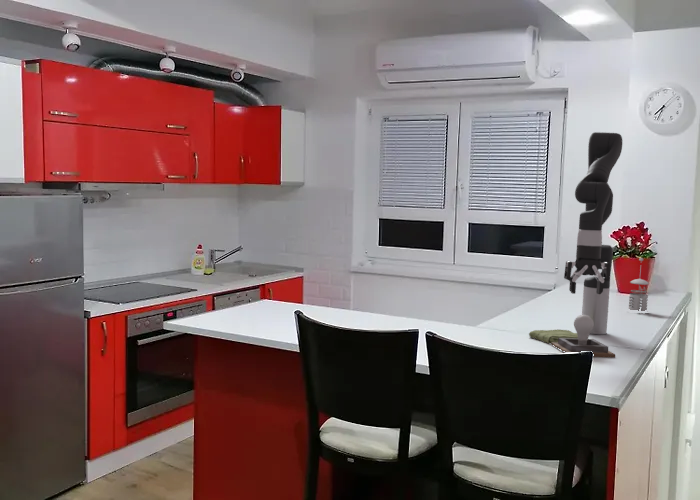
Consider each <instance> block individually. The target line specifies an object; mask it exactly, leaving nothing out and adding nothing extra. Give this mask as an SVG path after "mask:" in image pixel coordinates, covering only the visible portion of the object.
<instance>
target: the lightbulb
mask: <svg viewBox="0 0 700 500" xmlns="http://www.w3.org/2000/svg"><path fill="white" fill-rule="evenodd" d="M573 326H574V329H575V331H576V333H577V335H578V345H586V344H587V340H588V339H589V336H590V335H591V334H590V332H591V330H592V329H593V326H594V323H593V320H592V319H591V318H590V317H589V316H587V315H582V314H580V315H578V316H577V317H575V319H574V321H573Z"/></svg>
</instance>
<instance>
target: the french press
mask: <svg viewBox="0 0 700 500" xmlns="http://www.w3.org/2000/svg"><path fill="white" fill-rule="evenodd" d="M638 261H640V262H643V261H644V257H639V259H638ZM639 268H640V269H639V271H640V272H639V276H641V273H642V266H640V267H639ZM629 283H630V284H634V285H638V290H637V289H631V290H630V292H631V293H629V296H628V297H629V299H628V300H629V301H628V309H630V310H638V311H639V309H640V308H641V311H645V310H647V311H648V301H649V300H648V298H649V295H648V294H647V293H648V291H647V290H646V287H645V286H646V285H649V284H650V283H649V281H647V280H645V279H642V278H637V279H636V278H635V279H633V280H631V281H629ZM640 285H642V286H643V285H644V286H643V288H641V286H640Z"/></svg>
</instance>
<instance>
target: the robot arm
mask: <svg viewBox="0 0 700 500" xmlns="http://www.w3.org/2000/svg"><path fill="white" fill-rule="evenodd" d="M622 150H623V136H622V135H621V134H620V133H617V132H601V131H596V132H595V131H594V132H592V133H590V136H589V138H588V150H587V151H588V152H587V153H588V154H587V155H588V157H587V158H588V159H587V164H588V165H587V166H588V168H587V169H588V170H587V173H586V175H585V176H584V177H583V178H582V179H581V180H580V181H579V182H578V184H577V185H576V188H575V191H574V196H575V199H576V201H577V202H578V203H580V204H585V211H582V212H580V214H579V220H578V221H579V222H578V233H577V238H576V239H577V240H576V253H575V258H576V259H575V261H570V260H567V261H565V267H564V275H563V278H564V280H567V281H568V282H569V292H570V294H574V295H575V294H576V290H577V289H576V288H577V282H576V281H577V280H578V279H579V278H580V277H581V276H590V277H587V278H585V279H584V281H583V289H582V290H583V292H582V293H583V294H582V307H581V315H587V316H589V317H590V318H591V319H592V320H593V323H594V326H593V329H592V330H591V332H590V334H589V335H606V334H607V330H608V317H609V303H610V301H609V300H610V289H611V273H612V272H611V271H612V266H613V257H614V256H613V255H614V254H613V252H614V249H613V247H612V246H611V245H609V244H603V234H602V230H603V225H604V224H605V222H607V220H608V219H609V218H610V216H611V214H612V212H613V204H614V193H613V190H612V188H611V186H610V185H609V183H608V182H609V179H610V175H611V172H612V170H613V169H614V167H615V165H616V164H617V162H618V160H619V159H620V156H621V154H622ZM574 267H575V270H574V271H573V274H572V269H574ZM599 270H601V271H599Z"/></svg>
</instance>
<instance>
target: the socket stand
mask: <svg viewBox="0 0 700 500" xmlns="http://www.w3.org/2000/svg"><path fill="white" fill-rule="evenodd" d="M551 344H552V345H554V346H555V347H557V348H559V349H561V350H562V351H565V352H581V351H592V352H593V354H594V357H593V358H616V354H615V353H614V352H612V351H609V346H608V345H606V344H604V343H602V342H600V341H599V340H596V339H594V338H588V340H587V344H586V345H578V338H558V343H556V342H551ZM551 344H550V345H551ZM555 347H554V348H555Z"/></svg>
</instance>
